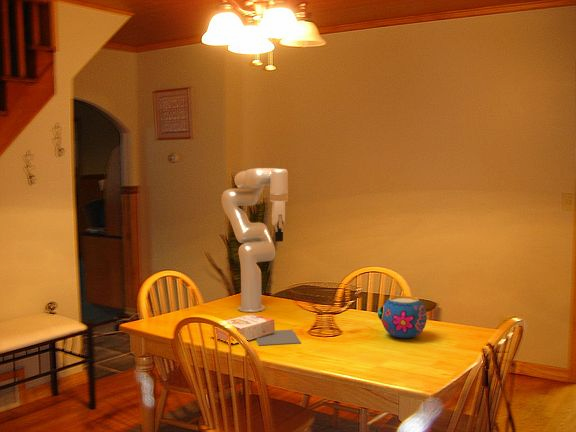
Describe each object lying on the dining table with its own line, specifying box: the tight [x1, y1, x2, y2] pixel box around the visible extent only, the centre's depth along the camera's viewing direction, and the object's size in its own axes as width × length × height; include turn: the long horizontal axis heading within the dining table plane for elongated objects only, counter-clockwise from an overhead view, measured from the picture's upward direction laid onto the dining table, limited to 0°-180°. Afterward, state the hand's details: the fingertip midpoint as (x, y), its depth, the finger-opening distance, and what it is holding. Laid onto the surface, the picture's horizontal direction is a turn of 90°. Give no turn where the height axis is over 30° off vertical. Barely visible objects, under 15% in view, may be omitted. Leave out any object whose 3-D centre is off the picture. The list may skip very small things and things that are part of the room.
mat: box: [255, 329, 302, 347], centre depth 227 cm, size 18×16×1 cm
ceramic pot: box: [377, 295, 428, 339], centre depth 228 cm, size 18×18×15 cm
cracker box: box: [215, 313, 276, 341], centre depth 229 cm, size 14×6×21 cm
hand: (279, 241), depth 248 cm, fingers closed
